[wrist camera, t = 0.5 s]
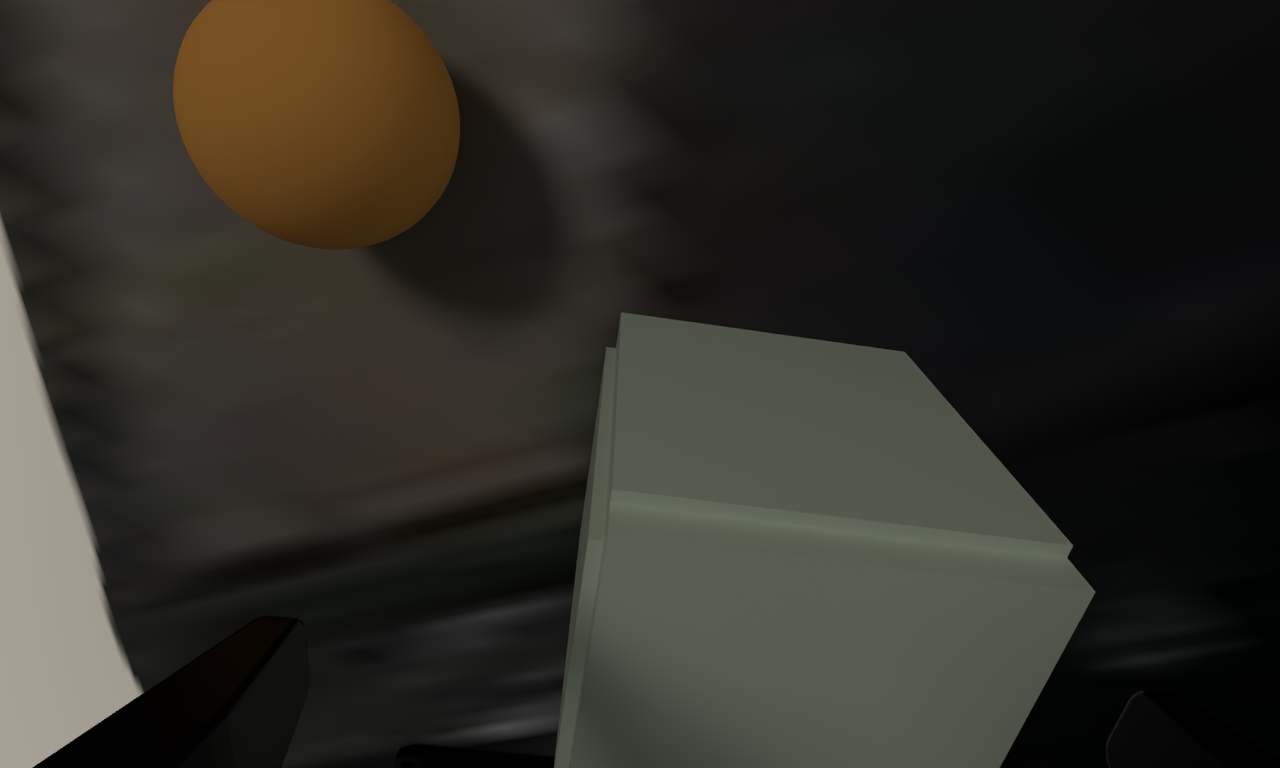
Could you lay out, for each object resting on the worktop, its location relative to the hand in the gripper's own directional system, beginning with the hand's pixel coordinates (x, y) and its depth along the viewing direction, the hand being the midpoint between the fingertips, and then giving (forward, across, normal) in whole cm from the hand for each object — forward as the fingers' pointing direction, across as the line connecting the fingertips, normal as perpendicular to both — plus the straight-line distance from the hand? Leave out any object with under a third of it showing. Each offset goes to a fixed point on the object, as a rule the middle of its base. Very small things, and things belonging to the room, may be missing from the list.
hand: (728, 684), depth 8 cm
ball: (+9, +8, -4) cm, 13 cm away
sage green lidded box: (+12, -2, +4) cm, 13 cm away
